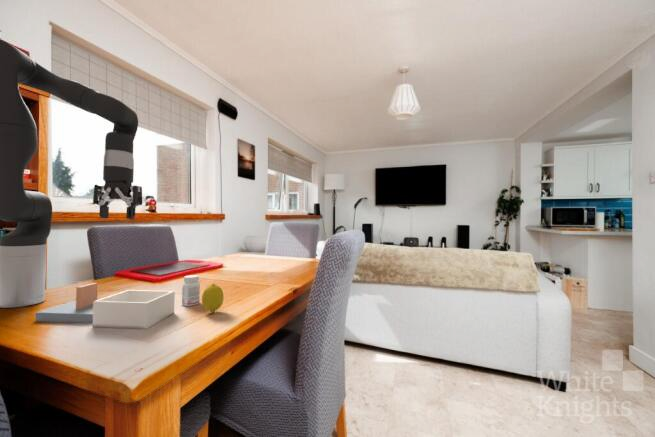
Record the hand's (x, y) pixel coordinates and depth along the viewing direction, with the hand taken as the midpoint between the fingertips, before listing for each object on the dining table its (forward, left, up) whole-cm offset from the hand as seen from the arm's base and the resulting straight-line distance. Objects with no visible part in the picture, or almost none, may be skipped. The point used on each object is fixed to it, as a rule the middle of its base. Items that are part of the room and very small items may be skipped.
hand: (117, 218), depth 86 cm
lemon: (+35, -8, -26) cm, 44 cm away
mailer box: (+18, -15, -25) cm, 35 cm away
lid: (+2, -12, -25) cm, 28 cm away
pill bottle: (+25, -1, -26) cm, 36 cm away
